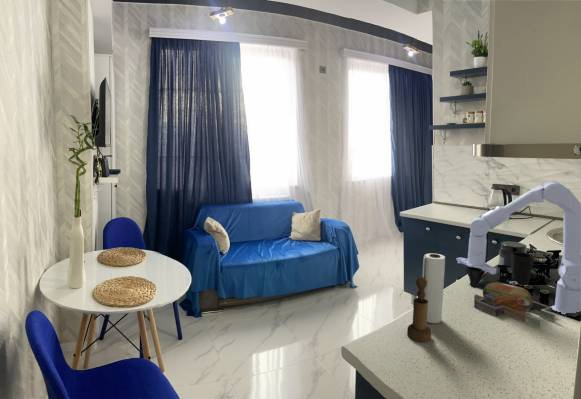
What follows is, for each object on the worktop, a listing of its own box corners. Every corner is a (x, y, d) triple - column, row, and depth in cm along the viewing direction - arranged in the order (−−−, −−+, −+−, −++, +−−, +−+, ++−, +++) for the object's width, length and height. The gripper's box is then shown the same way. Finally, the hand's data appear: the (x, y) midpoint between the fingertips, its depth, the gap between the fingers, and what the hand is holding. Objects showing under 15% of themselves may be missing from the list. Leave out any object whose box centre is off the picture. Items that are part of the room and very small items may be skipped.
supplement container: (530, 275, 161) (533, 247, 159) (505, 275, 161) (508, 247, 160) (516, 266, 172) (519, 241, 170) (493, 266, 172) (495, 240, 170)
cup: (534, 288, 147) (537, 258, 145) (513, 287, 148) (515, 257, 146) (526, 281, 154) (529, 252, 152) (506, 279, 156) (508, 251, 154)
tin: (481, 303, 134) (483, 280, 133) (484, 300, 137) (486, 278, 135) (530, 317, 124) (532, 292, 122) (532, 313, 126) (535, 289, 125)
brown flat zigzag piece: (497, 294, 142) (497, 288, 141) (561, 318, 122) (562, 311, 122) (466, 303, 134) (467, 297, 133) (530, 331, 114) (531, 323, 114)
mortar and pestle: (434, 336, 112) (437, 277, 109) (425, 344, 107) (428, 284, 105) (413, 328, 117) (415, 272, 114) (403, 336, 112) (405, 278, 109)
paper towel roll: (438, 315, 125) (442, 252, 122) (443, 324, 119) (447, 258, 116) (415, 314, 126) (418, 252, 122) (420, 323, 120) (423, 258, 116)
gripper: (452, 247, 142) (450, 282, 144) (488, 258, 130) (485, 296, 132) (465, 245, 146) (462, 279, 148) (501, 255, 133) (498, 292, 135)
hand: (474, 286), depth 140 cm, fingers closed
